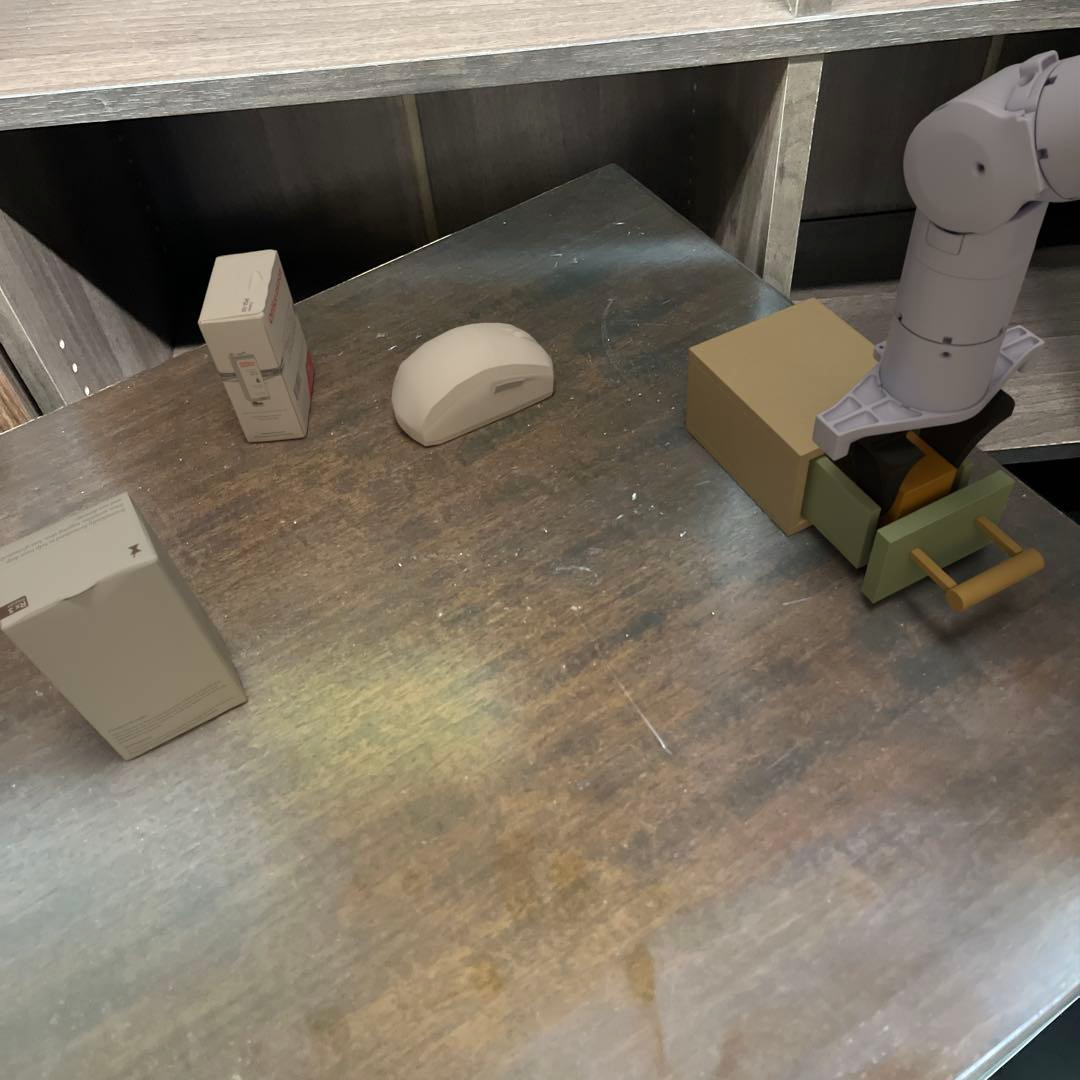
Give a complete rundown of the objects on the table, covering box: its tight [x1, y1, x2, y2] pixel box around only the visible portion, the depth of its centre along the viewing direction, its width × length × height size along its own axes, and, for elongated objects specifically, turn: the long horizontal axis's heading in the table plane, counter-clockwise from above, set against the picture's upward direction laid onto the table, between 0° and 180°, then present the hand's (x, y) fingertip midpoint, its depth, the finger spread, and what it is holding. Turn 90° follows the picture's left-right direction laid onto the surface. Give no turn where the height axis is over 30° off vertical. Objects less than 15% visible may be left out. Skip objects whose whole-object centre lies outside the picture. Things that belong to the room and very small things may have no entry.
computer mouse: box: [390, 322, 555, 447], centre depth 76 cm, size 6×13×6 cm, turn 118°
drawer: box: [801, 428, 1045, 613], centre depth 62 cm, size 16×9×6 cm, turn 27°
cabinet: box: [685, 296, 878, 537], centre depth 69 cm, size 13×11×8 cm
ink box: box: [197, 249, 315, 443], centre depth 75 cm, size 9×5×12 cm, turn 3°
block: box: [854, 431, 957, 528], centre depth 61 cm, size 4×4×4 cm
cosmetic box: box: [0, 491, 248, 762], centre depth 56 cm, size 8×6×15 cm
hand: (901, 491), depth 62 cm, fingers closed on block, 4 cm apart
